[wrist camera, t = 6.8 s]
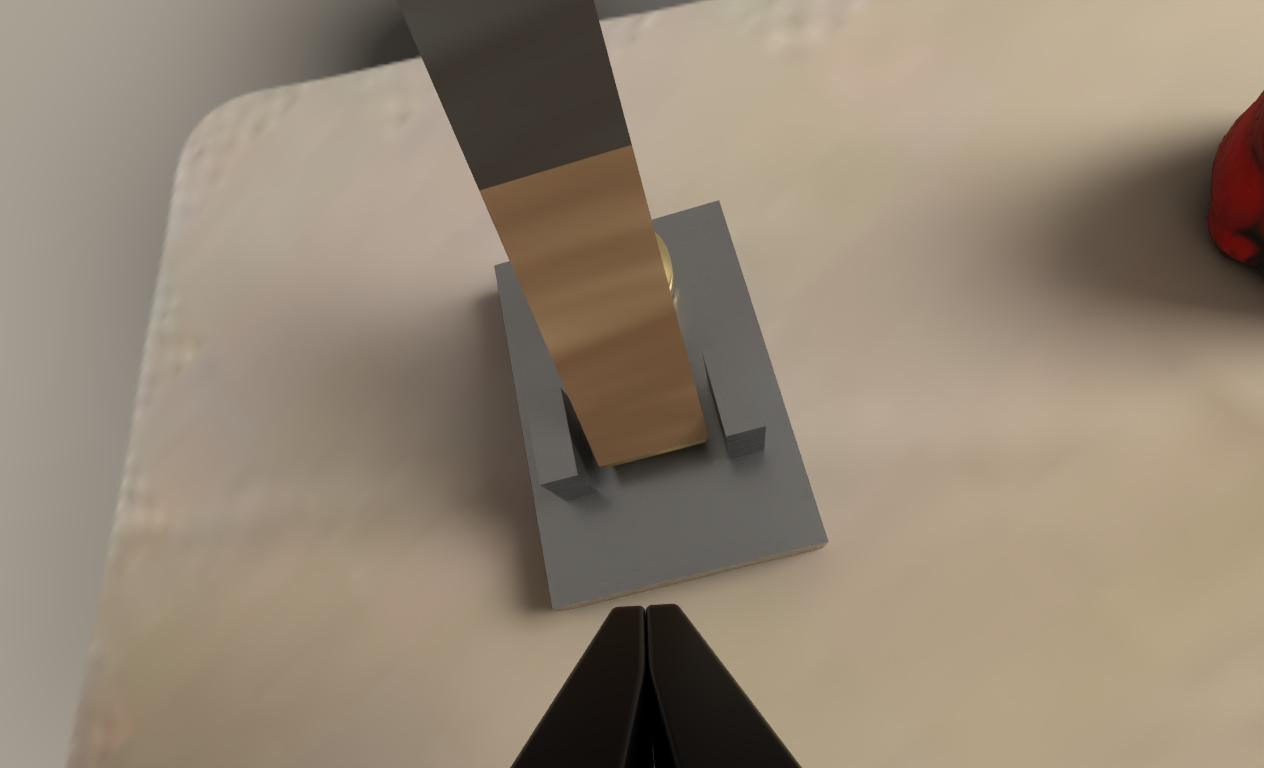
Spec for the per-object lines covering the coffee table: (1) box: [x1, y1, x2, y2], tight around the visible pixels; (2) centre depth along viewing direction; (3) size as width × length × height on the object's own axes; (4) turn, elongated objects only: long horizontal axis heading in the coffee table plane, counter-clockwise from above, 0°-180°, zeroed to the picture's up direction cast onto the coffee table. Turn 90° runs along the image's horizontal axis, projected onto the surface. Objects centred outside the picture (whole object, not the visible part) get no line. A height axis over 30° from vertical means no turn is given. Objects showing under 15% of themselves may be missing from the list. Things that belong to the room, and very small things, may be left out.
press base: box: [494, 201, 828, 610], centre depth 19 cm, size 11×8×5 cm
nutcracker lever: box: [397, 0, 709, 468], centre depth 15 cm, size 2×3×14 cm, turn 102°
